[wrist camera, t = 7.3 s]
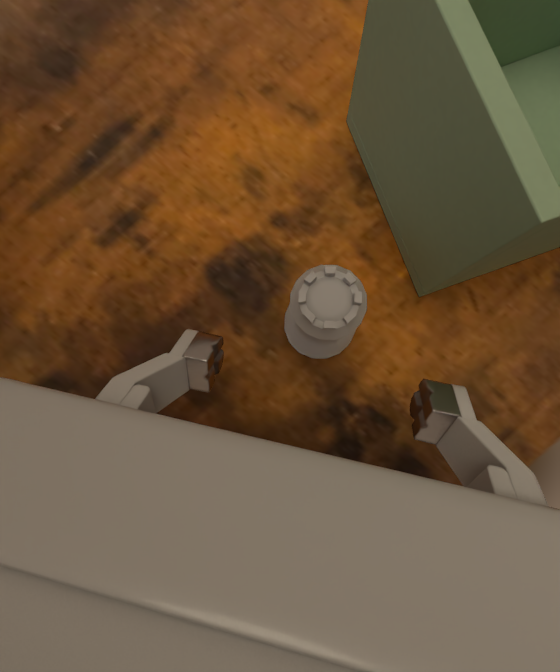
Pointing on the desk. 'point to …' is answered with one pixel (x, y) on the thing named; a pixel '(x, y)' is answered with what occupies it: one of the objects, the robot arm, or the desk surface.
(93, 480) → the robot arm
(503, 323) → the desk surface
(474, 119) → the chest
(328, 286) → the rook chess piece
